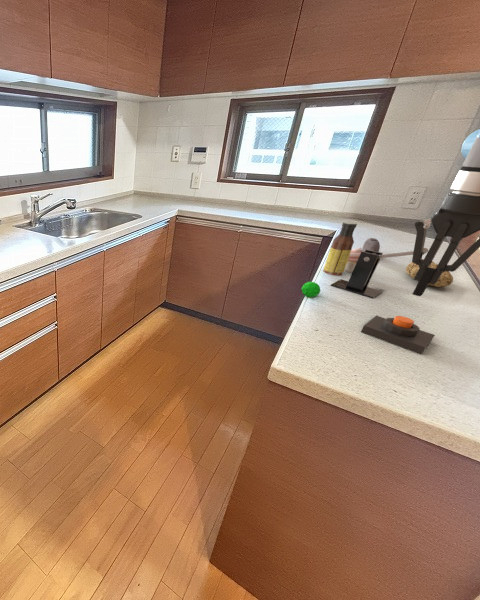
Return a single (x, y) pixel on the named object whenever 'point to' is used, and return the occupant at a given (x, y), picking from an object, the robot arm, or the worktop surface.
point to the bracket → (362, 275)
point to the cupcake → (352, 260)
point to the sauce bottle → (340, 250)
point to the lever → (400, 254)
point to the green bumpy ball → (311, 289)
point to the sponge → (445, 276)
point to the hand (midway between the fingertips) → (417, 294)
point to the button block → (398, 334)
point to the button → (403, 322)
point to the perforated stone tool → (371, 245)
